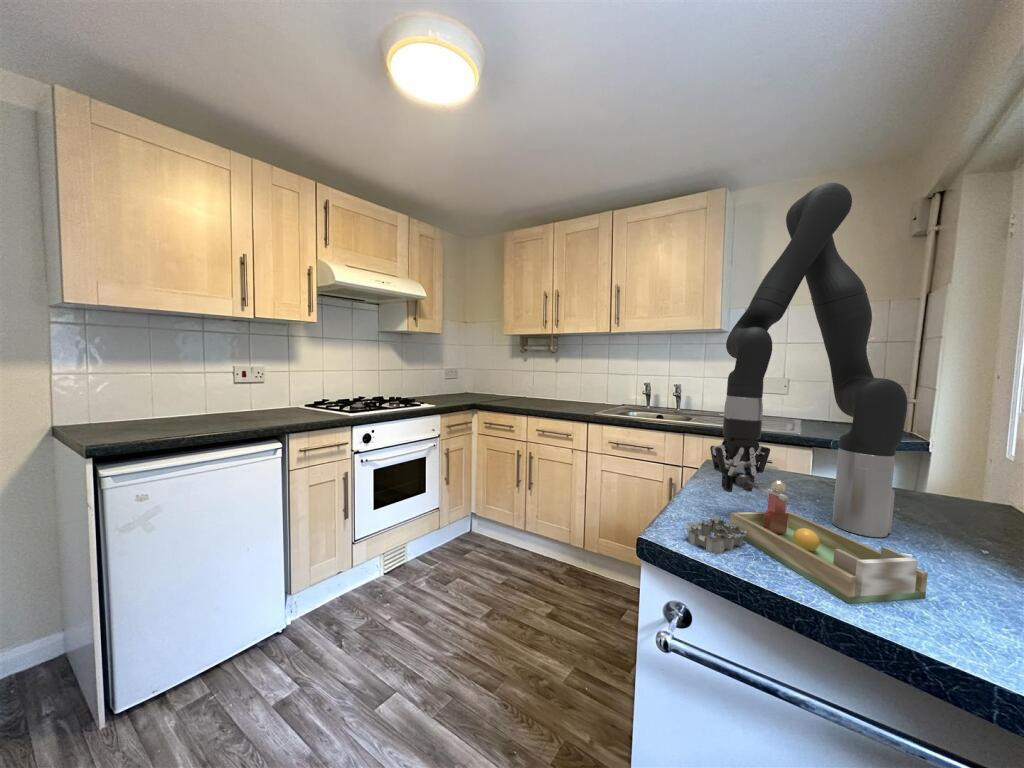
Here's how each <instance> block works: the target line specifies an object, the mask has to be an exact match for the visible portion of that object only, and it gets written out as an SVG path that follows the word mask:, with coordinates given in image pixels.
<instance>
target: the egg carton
mask: <svg viewBox="0 0 1024 768" xmlns="http://www.w3.org/2000/svg"><path fill="white" fill-rule="evenodd" d="M685 530H686V531H688V535H687V540H688V541H689V544H690V545H693V546H701V547H703V548H705V551H706V550H707V552H708V551H709V552H708V553H710V552H712V553H713V552H715V553H716V554H723V553H724V552H725V550H729V551H731V550H734V546H738V547H743V546H744V540H743V538H744V535H745V536H746V533H747V531H746V530H744V531H742V530H740V529H739V527H738V526H735V525H733V524H732V523H730V521H727V520H723V519H721V518H720V517H719V516H717V515H714V516H712V517H710V518H708V519H707V518H706V519H704V518H702V519H701V520H698V521H695V522H687V523H686V526H685ZM712 533H713V535H714V536H712ZM715 553H714V554H715Z"/></svg>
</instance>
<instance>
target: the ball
mask: <svg viewBox="0 0 1024 768" xmlns="http://www.w3.org/2000/svg"><path fill="white" fill-rule="evenodd" d="M793 541H794V543H795V544H796V545H797V546H799V547H801V548H803V549H805V550H806V551H814V550H816V549H817V548H818V547H819V545H820V540H819V537H818V536H817V534H816V533H815V532H813V531H812V530H810V529H806V528H801V529H798V530H796V531H795V532H794V534H793Z"/></svg>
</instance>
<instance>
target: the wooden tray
mask: <svg viewBox="0 0 1024 768" xmlns="http://www.w3.org/2000/svg"><path fill="white" fill-rule="evenodd" d="M764 512H765V511H750V512H749V511H747V512H746V511H745V512H741V511H740V512H730V517H729V518H730V519H729V523H732V524H733V525H735V526H738V527H739V529H740V530H742V531H744V530H746V531H747V533H746V536H745V535H744V538H743V542H746V543H748V544H750V545H751V546H752V547H754V548H756V549H757V550H759V551H761V552H763V553H764V554H766V555H768V557H769V556H770V557H771V558H773V559H774V560H775V561H778V562H779V563H781V564H782V565H784V566H785V567H787V568H789V569H791V570H792V571H793V572H795V573H797V574H798V575H800V576H802V577H803V578H805V579H807V580H808V581H810V582H811V583H813V584H815V585H817V586H818V587H820V588H822V589H824V591H826V592H829V594H831V595H833V596H835V597H837V598H838V599H840V600H842V601H843V602H845V603H847V604H859V603H860V604H861V603H874V602H875V603H876V602H888V601H889V602H890V601H901V600H902V601H904V600H917V599H925V598H926V596H927V594H926V593H927V586H928V584H927V583H928V576H929V573H928V572H927V571H925V570H922V569H920V568H918V564H919V563H918V562H919V560H918V559H915V558H912V557H911V556H908V555H906V554H903V553H901V552H898V551H896V550H894V549H892V548H889V547H887V546H881V549H880V550H878V549H875V548H873V547H871V546H869V545H866V544H864V543H862V542H859V541H857V540H855V539H852V538H850V537H848V536H846V535H844V534H841V533H839V532H838V531H835V530H833V529H830V528H827V527H826V526H823V525H821V524H819V523H817V522H814V521H812V520H810V519H808V518H805V517H803V516H801V515H800V514H796V513H795V512H792V511H789V510H785V513H787V514H788V520H787V533H780V534H774V533H773V532H771V531H769V530H767V529H765V528H763V525H764ZM801 528H806V529H810V530H812V531H813V532H815V533H816V534H817V536H818V537H819V540H820V545H819V547H818V548H817V549H816V550H814V551H806V550H805V549H803V548H801V547H799V546H797V545H796V544H795V543H794V541H793V534H794V532H795V531H796V530H798V529H801Z"/></svg>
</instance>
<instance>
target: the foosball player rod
mask: <svg viewBox="0 0 1024 768" xmlns="http://www.w3.org/2000/svg"><path fill="white" fill-rule="evenodd" d="M744 473H745V472H744ZM744 473H743V472H741V471H738V470H737V469H734V472H733V475H732V476H733V486H737V487H739V488H741V489H742V490H743V489H745V490H750V489H751V488H753V489H755V490H756V491H759V492H762V493H764V494H766V495H768V498H767V499H768V500H767V510H765V511H763V512H764V525H763V528H765V529H767V530H769V531H771V532H773V533H774V534H780V533H787V520H788V514H787V513H785V511H787V510H786V507H787V502H788V501H789V499H790V497H789V496H788V495H786V494H783V493H784V492H785V491H786V490H787V485H786V483H785V482H784V481H783V480H781V479H774V480H772V482H771V483H770V488H769V487H767V486H764V485H761V484H759V483H757V482H755V478H754V479H753V477H751V476H749V475H746V474H744ZM745 490H744V491H745Z"/></svg>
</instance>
